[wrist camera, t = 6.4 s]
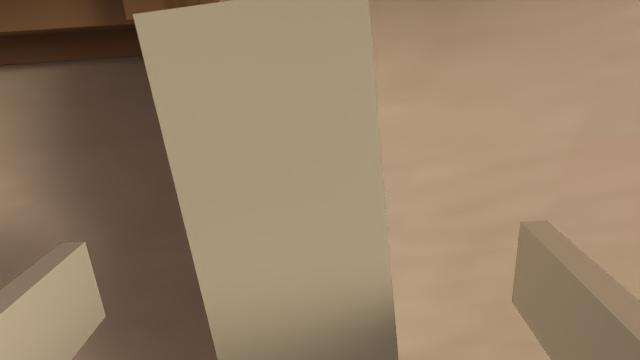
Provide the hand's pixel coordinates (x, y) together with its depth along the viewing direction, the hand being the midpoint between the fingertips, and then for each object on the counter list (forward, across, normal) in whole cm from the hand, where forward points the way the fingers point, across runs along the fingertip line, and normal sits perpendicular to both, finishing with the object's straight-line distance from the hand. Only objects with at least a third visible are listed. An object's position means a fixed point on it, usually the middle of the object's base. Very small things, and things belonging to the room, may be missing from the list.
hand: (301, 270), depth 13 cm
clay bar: (+6, 0, +1) cm, 6 cm away
